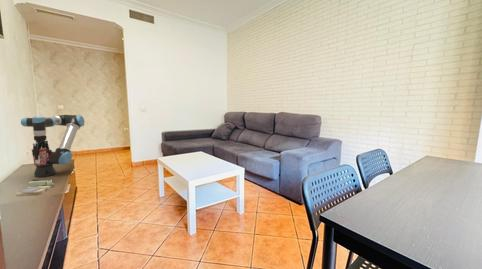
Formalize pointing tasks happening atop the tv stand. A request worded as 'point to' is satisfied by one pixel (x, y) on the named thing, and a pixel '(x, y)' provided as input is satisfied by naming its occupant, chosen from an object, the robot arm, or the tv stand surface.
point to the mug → (42, 156)
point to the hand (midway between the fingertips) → (42, 161)
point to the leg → (40, 183)
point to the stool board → (43, 189)
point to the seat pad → (30, 189)
